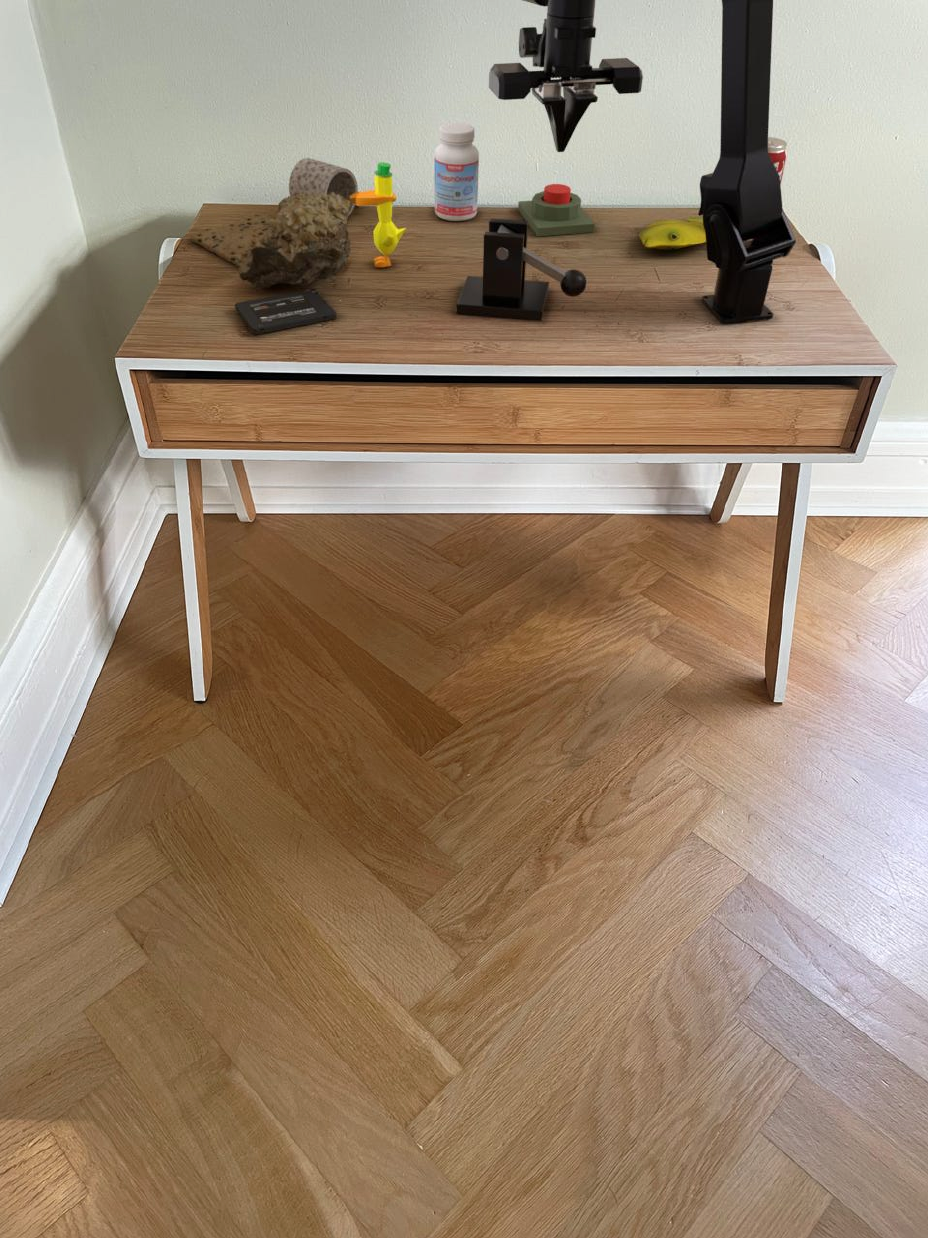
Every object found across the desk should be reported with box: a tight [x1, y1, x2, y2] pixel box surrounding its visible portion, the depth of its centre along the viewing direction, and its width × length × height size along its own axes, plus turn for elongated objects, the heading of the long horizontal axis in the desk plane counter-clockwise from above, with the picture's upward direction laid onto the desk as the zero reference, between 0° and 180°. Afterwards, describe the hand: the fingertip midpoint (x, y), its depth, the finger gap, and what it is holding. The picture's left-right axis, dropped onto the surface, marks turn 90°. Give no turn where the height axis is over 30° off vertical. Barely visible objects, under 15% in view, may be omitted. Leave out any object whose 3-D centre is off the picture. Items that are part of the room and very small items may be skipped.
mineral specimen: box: [234, 192, 352, 290], centre depth 113 cm, size 14×13×10 cm
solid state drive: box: [234, 288, 337, 335], centre depth 109 cm, size 7×10×1 cm
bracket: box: [456, 218, 550, 322], centre depth 109 cm, size 10×8×9 cm
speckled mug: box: [288, 157, 359, 218], centre depth 131 cm, size 10×7×7 cm
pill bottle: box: [433, 122, 480, 222], centre depth 129 cm, size 6×6×11 cm
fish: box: [638, 216, 706, 251], centre depth 126 cm, size 3×16×10 cm
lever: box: [498, 225, 587, 298], centre depth 109 cm, size 12×3×3 cm, turn 81°
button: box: [543, 183, 572, 205], centre depth 129 cm, size 4×4×2 cm
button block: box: [517, 190, 595, 237], centre depth 130 cm, size 10×8×3 cm
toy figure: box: [350, 161, 407, 268], centre depth 116 cm, size 7×4×12 cm, turn 102°
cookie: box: [191, 213, 276, 268], centre depth 124 cm, size 12×12×1 cm
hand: (559, 150), depth 125 cm, fingers closed
